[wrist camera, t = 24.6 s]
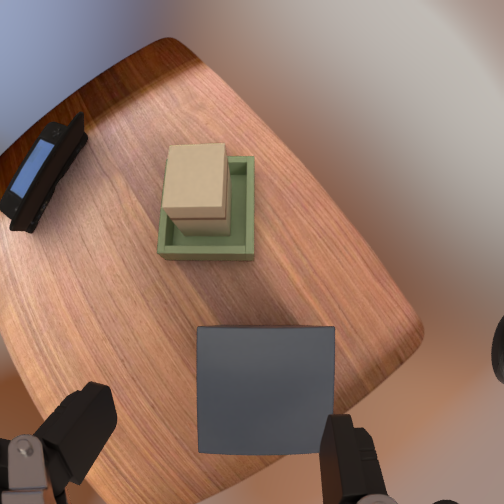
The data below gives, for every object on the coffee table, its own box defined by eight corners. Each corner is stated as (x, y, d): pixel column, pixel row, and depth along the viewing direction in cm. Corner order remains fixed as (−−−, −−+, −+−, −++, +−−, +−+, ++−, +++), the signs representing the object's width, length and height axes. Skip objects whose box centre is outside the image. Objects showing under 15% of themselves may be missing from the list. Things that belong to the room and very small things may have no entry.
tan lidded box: (232, 184, 35) (225, 142, 26) (230, 237, 34) (222, 207, 25) (187, 185, 35) (168, 144, 27) (184, 237, 34) (161, 208, 25)
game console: (54, 123, 39) (25, 90, 30) (112, 147, 37) (83, 108, 29) (1, 210, 36) (-37, 188, 27) (51, 250, 34) (7, 230, 26)
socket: (254, 170, 36) (254, 155, 33) (254, 260, 34) (253, 253, 30) (173, 172, 36) (166, 158, 33) (165, 260, 34) (156, 253, 31)
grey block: (299, 325, 32) (335, 326, 18) (298, 398, 31) (330, 452, 16) (222, 324, 32) (196, 326, 18) (222, 398, 31) (198, 453, 16)
